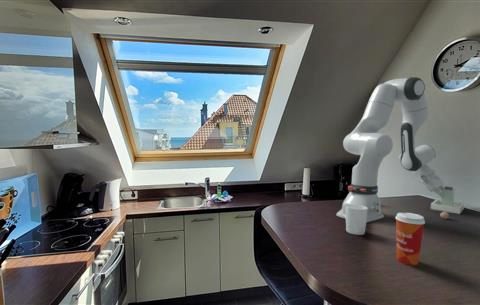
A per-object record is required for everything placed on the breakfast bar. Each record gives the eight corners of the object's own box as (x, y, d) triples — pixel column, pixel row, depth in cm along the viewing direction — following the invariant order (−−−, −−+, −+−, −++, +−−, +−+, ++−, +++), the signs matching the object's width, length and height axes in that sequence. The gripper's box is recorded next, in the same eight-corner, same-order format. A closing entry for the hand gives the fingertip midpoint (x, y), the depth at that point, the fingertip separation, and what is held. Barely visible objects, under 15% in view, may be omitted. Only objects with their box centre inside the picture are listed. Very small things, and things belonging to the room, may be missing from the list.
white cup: (365, 230, 109) (366, 205, 108) (367, 236, 101) (369, 210, 100) (344, 227, 111) (345, 203, 110) (344, 233, 104) (346, 208, 103)
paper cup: (387, 255, 86) (389, 211, 85) (410, 255, 86) (413, 211, 85) (404, 267, 78) (407, 219, 77) (429, 267, 79) (432, 219, 78)
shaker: (451, 209, 139) (453, 188, 139) (441, 207, 143) (442, 186, 142) (453, 208, 143) (454, 187, 142) (442, 206, 146) (444, 185, 145)
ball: (448, 220, 124) (448, 213, 123) (439, 218, 126) (439, 211, 126) (449, 218, 126) (449, 212, 126) (440, 217, 128) (441, 210, 128)
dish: (459, 214, 134) (460, 208, 133) (430, 209, 142) (431, 203, 142) (463, 209, 143) (464, 203, 143) (436, 204, 152) (436, 199, 152)
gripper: (425, 172, 140) (447, 194, 134) (433, 169, 155) (454, 189, 148) (414, 179, 144) (435, 201, 137) (423, 176, 158) (443, 195, 152)
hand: (445, 195), depth 143 cm, fingers open, 8 cm apart
